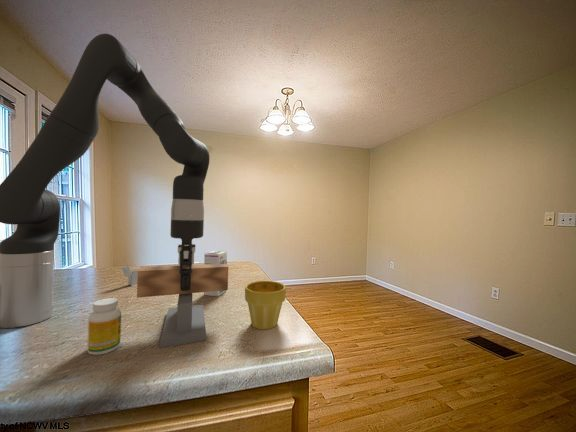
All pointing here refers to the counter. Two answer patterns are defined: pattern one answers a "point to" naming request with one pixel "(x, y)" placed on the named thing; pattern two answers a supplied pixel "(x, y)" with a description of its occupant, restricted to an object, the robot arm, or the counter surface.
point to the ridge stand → (184, 323)
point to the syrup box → (215, 258)
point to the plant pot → (264, 302)
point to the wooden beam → (169, 279)
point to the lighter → (130, 275)
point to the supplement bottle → (104, 327)
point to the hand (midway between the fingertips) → (185, 287)
